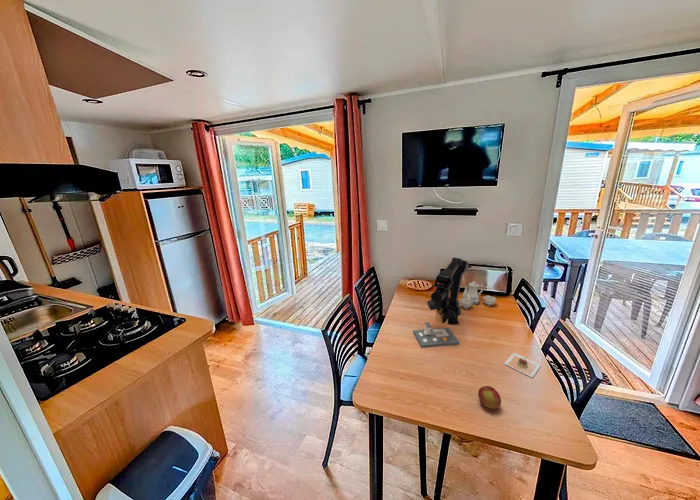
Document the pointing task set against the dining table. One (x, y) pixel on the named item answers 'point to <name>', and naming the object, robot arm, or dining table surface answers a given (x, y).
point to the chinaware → (474, 296)
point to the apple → (489, 397)
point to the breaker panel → (436, 338)
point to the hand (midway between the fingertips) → (441, 320)
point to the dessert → (523, 363)
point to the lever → (427, 328)
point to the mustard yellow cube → (440, 318)
